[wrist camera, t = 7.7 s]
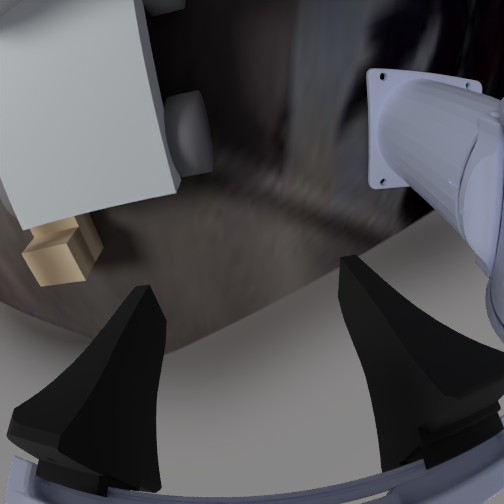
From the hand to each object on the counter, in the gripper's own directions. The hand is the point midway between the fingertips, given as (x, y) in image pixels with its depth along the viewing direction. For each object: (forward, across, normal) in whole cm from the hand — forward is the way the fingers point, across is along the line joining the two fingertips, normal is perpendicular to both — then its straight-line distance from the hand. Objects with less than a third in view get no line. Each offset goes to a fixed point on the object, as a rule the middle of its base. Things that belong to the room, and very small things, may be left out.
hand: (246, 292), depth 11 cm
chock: (+10, +13, 0) cm, 16 cm away
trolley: (+9, +8, -9) cm, 15 cm away
